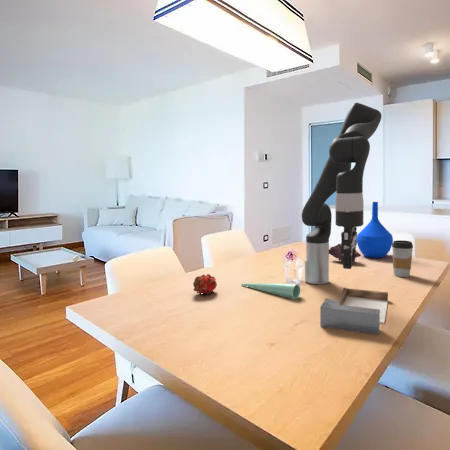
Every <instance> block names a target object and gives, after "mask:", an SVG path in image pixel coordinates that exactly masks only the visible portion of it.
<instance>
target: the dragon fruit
mask: <svg viewBox="0 0 450 450" xmlns="http://www.w3.org/2000/svg"><path fill="white" fill-rule="evenodd" d="M216 280H217V279H216V277H215V276H212V275H211V274H210V273H208V274H202V275H200V276H196V277H195V278H194V281H193V283H192V285H193V287H194V288H193V291H194V292H196V294H199V293H204V294H206V293H207V294H206V295H209V294H210V295H211V294H212V293H211V292H213V290H214V291H215V290H216V288H217V286H218V284H217V281H216ZM208 293H209V294H208ZM213 293H214V292H213Z"/></svg>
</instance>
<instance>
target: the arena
mask: <svg viewBox="0 0 450 450" xmlns="http://www.w3.org/2000/svg"><path fill="white" fill-rule="evenodd" d="M347 296H348V297H357V298H367V299H376V300H385V301H389V292H387V291H379V290H368V289H359V288H348V287H344V288H343V289H342V290H341V292H340V294H339V296H338V297H337V299H336V300H339V305H343V304H344V302H345V300H346V298H347Z"/></svg>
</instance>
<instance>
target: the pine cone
mask: <svg viewBox="0 0 450 450" xmlns="http://www.w3.org/2000/svg"><path fill="white" fill-rule="evenodd" d="M345 250H349V249H347V248H345ZM354 250H355V259H356V258H360V257H361V254H362V253H359V252H358V251H357V248H356V249H354ZM329 255H331V256H333V257H334V258H335V259H338V261H341V262H343V255H342V254H341V243H338V244H337V245H334V246H331V247H329Z"/></svg>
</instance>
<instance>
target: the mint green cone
mask: <svg viewBox="0 0 450 450" xmlns="http://www.w3.org/2000/svg"><path fill="white" fill-rule="evenodd" d="M242 285H244V286H248V287H251V288H250V289H252V288H254V289H253V290H256V289H258V290H257V291H259V290H261V291H260V292H263V291H265V292H264V293H267V292H269V293H268V294H271V293H272V295H275V294H276V295H275V296H281V297H284V298H288V299H292V300H296V299H297V298H299V297H300V295H301V285H299V284H297V283H285V282H284V283H280V282H279V283H272V282H271V283H270V282H269V283H268V282H267V283H266V282H263V283H261V282H260V283H259V282H258V283H257V282H255V283H253V282H250V283H249V282H247V283H246V282H245V283H241V286H242ZM244 286H243V287H244ZM248 287H247V288H248Z"/></svg>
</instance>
